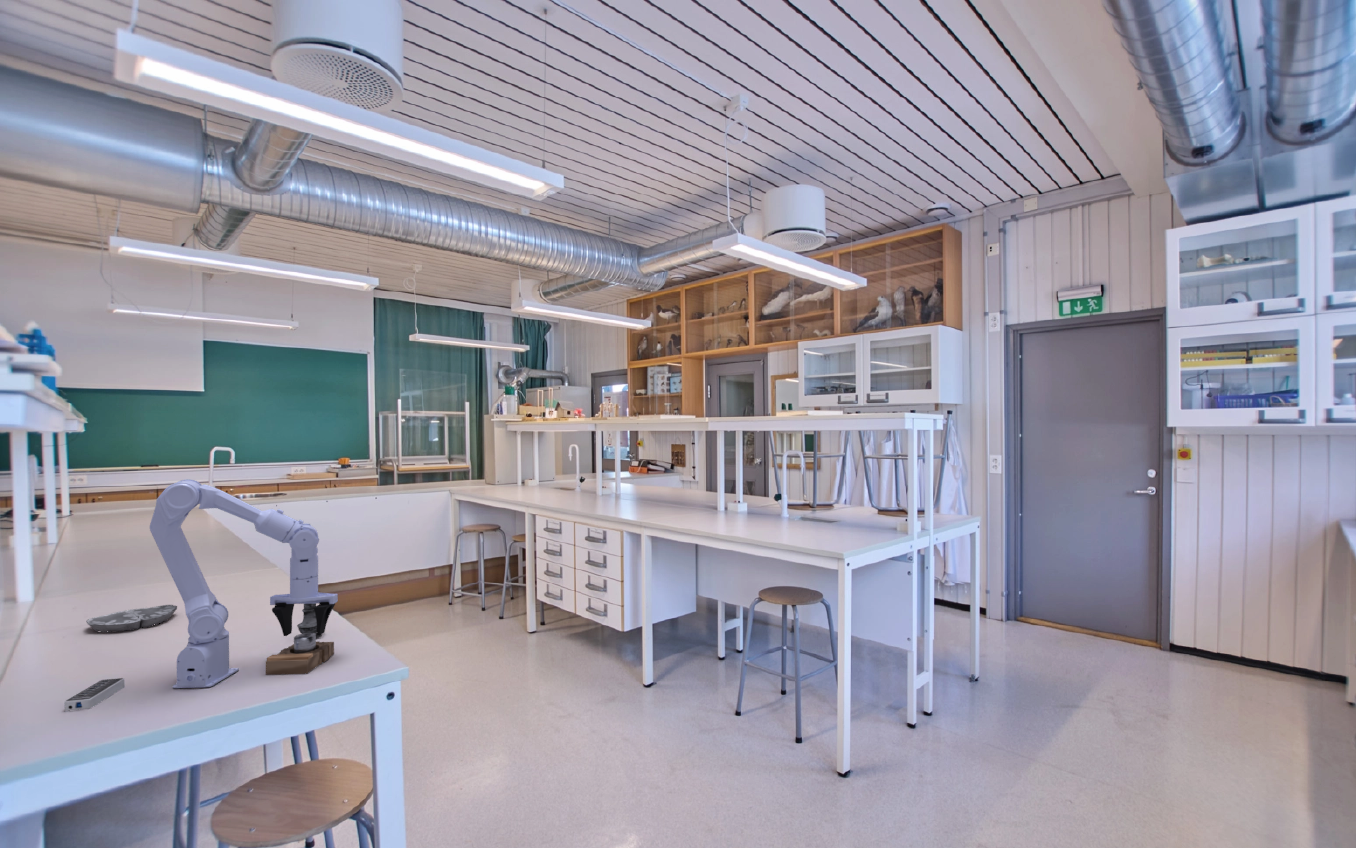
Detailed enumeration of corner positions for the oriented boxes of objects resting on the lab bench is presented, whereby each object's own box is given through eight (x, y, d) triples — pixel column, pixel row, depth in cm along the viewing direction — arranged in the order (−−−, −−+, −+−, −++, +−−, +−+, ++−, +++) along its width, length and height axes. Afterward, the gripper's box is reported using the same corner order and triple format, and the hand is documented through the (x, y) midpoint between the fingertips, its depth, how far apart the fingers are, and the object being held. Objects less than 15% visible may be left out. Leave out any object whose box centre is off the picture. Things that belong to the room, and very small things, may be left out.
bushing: (311, 664, 145) (310, 638, 145) (290, 665, 144) (290, 639, 144) (319, 657, 149) (318, 632, 149) (299, 658, 149) (299, 633, 149)
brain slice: (95, 641, 163) (95, 630, 163) (81, 629, 173) (81, 618, 173) (187, 622, 179) (187, 611, 179) (169, 612, 189) (169, 602, 189)
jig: (309, 673, 139) (309, 657, 139) (263, 675, 139) (263, 658, 139) (337, 653, 152) (337, 638, 152) (295, 654, 151) (294, 639, 151)
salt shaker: (293, 642, 160) (293, 595, 160) (301, 635, 166) (300, 590, 166) (319, 640, 162) (319, 593, 162) (325, 632, 167) (325, 588, 167)
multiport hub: (125, 688, 133) (125, 677, 133) (89, 711, 123) (89, 699, 123) (101, 690, 132) (101, 679, 132) (63, 713, 122) (62, 701, 122)
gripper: (343, 572, 151) (343, 628, 151) (282, 573, 150) (282, 629, 150) (329, 579, 144) (329, 638, 144) (264, 580, 143) (264, 639, 143)
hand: (304, 634), depth 147 cm, fingers open, 7 cm apart
